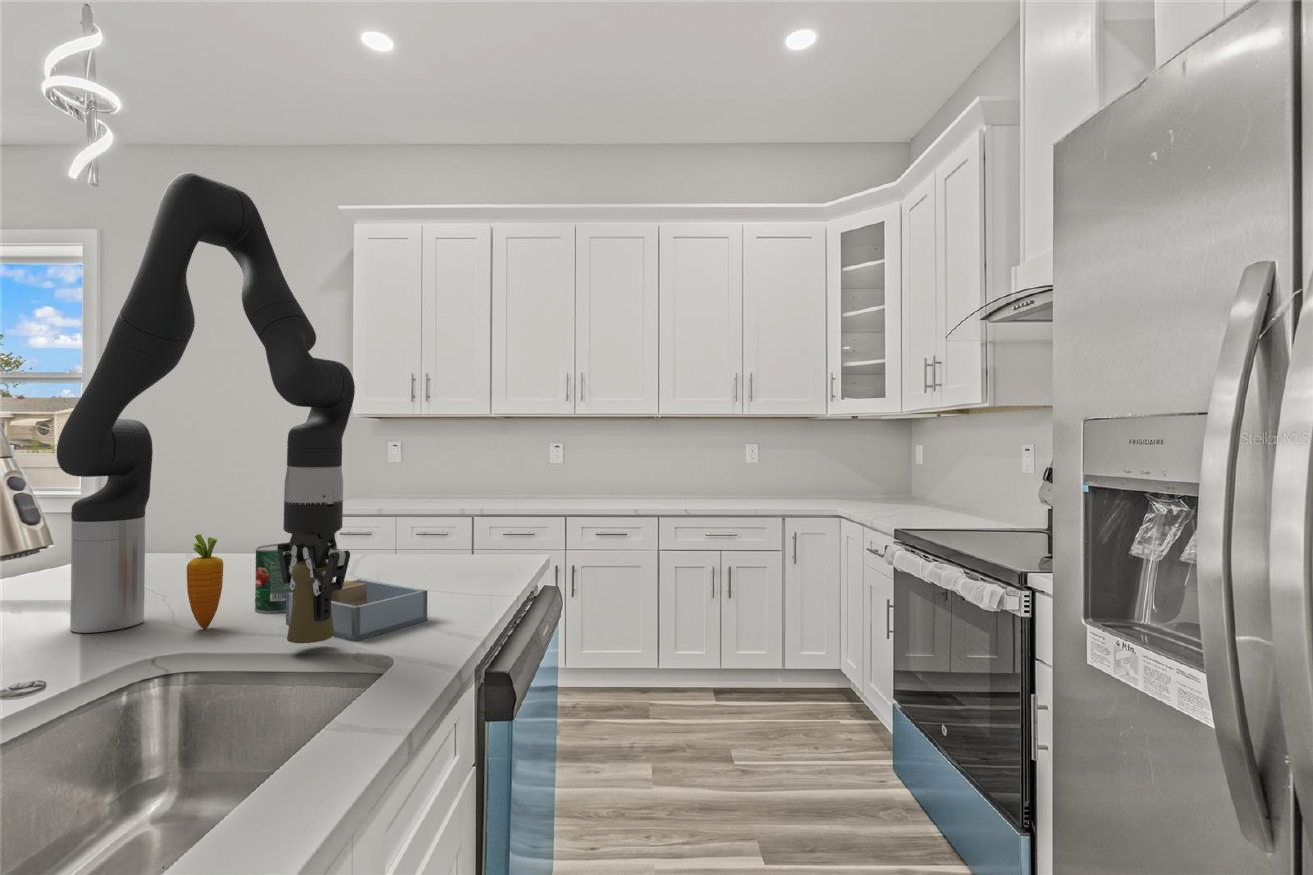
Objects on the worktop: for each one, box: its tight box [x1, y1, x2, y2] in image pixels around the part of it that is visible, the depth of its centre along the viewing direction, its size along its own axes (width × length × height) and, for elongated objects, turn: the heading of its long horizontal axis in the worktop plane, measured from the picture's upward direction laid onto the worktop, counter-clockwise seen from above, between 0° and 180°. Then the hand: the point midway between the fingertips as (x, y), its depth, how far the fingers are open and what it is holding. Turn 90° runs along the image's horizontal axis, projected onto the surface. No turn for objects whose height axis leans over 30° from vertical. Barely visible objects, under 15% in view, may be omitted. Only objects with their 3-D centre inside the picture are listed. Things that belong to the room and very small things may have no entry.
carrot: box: [186, 533, 224, 630], centre depth 107 cm, size 5×5×15 cm
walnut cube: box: [331, 580, 367, 606], centre depth 113 cm, size 5×5×5 cm
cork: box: [286, 561, 335, 644], centre depth 96 cm, size 6×6×11 cm
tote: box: [285, 578, 428, 642], centre depth 111 cm, size 18×14×5 cm
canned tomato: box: [254, 543, 293, 614], centre depth 120 cm, size 8×8×11 cm
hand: (311, 617), depth 96 cm, fingers closed on cork, 4 cm apart
